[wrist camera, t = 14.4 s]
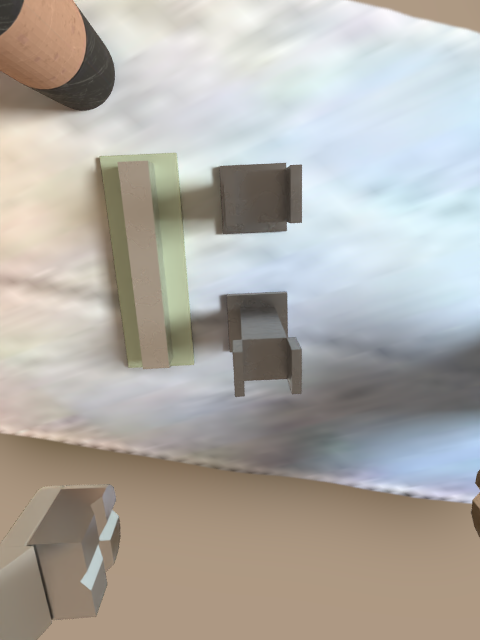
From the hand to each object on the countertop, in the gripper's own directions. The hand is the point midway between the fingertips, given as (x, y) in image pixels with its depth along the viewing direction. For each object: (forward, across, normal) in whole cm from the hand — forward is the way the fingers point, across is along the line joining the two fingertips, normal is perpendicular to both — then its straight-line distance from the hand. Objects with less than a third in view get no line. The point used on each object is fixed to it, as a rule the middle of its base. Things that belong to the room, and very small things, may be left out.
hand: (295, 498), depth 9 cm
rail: (+36, -11, 0) cm, 38 cm away
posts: (+37, +1, 0) cm, 37 cm away
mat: (+37, -11, 0) cm, 39 cm away
